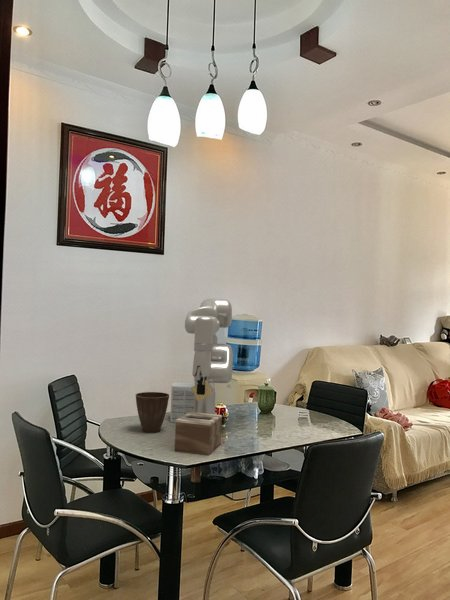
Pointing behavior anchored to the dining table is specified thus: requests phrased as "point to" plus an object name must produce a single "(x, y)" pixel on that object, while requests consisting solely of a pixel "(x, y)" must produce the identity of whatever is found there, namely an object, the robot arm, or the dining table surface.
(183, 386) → the supplement box
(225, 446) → the dining table surface
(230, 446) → the dining table surface
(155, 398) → the plant pot
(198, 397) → the tan flat block
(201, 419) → the box with rectangular opening
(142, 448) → the dining table surface
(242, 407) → the dining table surface
